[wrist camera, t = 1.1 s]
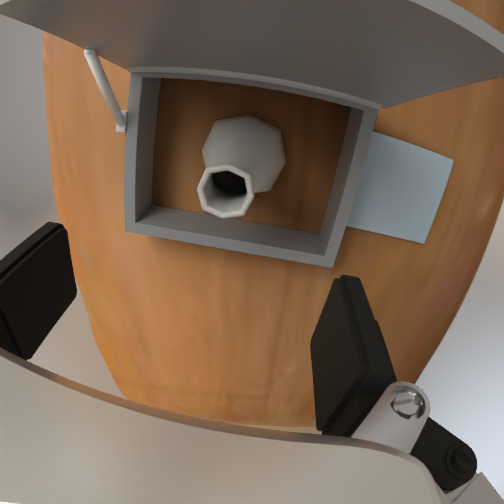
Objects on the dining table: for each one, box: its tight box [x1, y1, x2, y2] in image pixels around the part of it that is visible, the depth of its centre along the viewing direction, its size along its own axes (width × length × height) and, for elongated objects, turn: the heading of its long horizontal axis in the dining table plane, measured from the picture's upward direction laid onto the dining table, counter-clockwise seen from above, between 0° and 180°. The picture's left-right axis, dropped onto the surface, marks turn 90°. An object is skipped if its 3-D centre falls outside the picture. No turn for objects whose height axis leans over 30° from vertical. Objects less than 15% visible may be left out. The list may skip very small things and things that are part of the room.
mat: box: [346, 131, 454, 244], centre depth 25 cm, size 9×9×1 cm
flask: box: [197, 114, 286, 219], centre depth 21 cm, size 7×7×10 cm
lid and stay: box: [0, 0, 504, 132], centre depth 13 cm, size 9×19×15 cm, turn 81°
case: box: [124, 67, 382, 268], centre depth 23 cm, size 15×18×5 cm
